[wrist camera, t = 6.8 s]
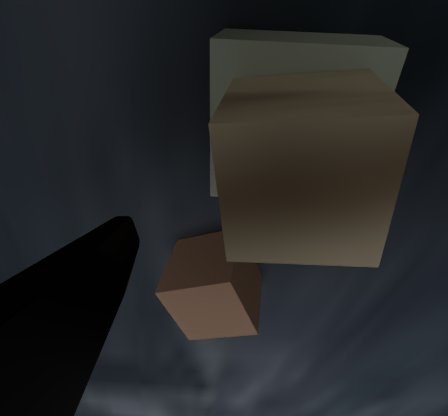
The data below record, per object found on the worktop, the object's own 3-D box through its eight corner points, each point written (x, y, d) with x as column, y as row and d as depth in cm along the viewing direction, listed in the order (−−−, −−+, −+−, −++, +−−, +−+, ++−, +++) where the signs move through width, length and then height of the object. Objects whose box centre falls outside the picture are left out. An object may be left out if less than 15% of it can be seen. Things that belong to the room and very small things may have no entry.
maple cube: (350, 186, 14) (378, 267, 10) (241, 187, 15) (226, 261, 11) (369, 68, 11) (419, 114, 7) (232, 78, 12) (208, 123, 8)
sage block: (379, 34, 14) (409, 48, 11) (340, 171, 18) (353, 211, 15) (225, 27, 15) (209, 38, 11) (222, 160, 19) (210, 196, 15)
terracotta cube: (240, 226, 21) (230, 281, 17) (262, 275, 24) (258, 334, 20) (177, 239, 23) (154, 293, 19) (204, 284, 25) (189, 340, 21)
